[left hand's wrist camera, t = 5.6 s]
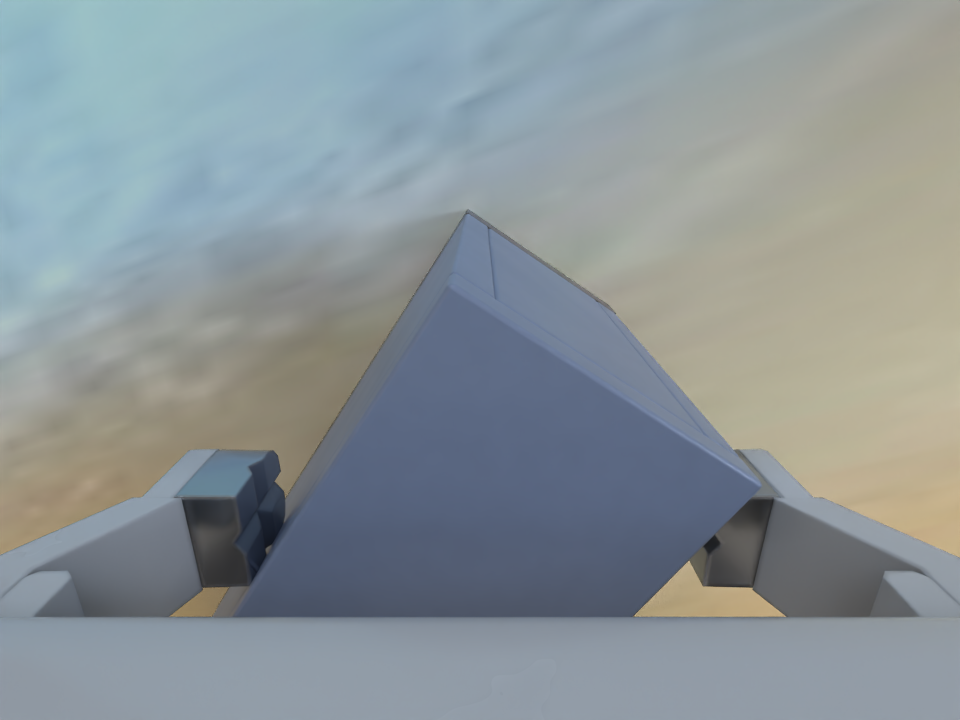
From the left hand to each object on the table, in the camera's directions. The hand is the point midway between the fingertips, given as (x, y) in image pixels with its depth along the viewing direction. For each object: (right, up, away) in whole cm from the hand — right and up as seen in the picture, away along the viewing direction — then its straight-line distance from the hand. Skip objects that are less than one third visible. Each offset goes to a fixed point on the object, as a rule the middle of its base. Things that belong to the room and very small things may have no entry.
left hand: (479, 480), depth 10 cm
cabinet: (-3, -1, +9) cm, 9 cm away
